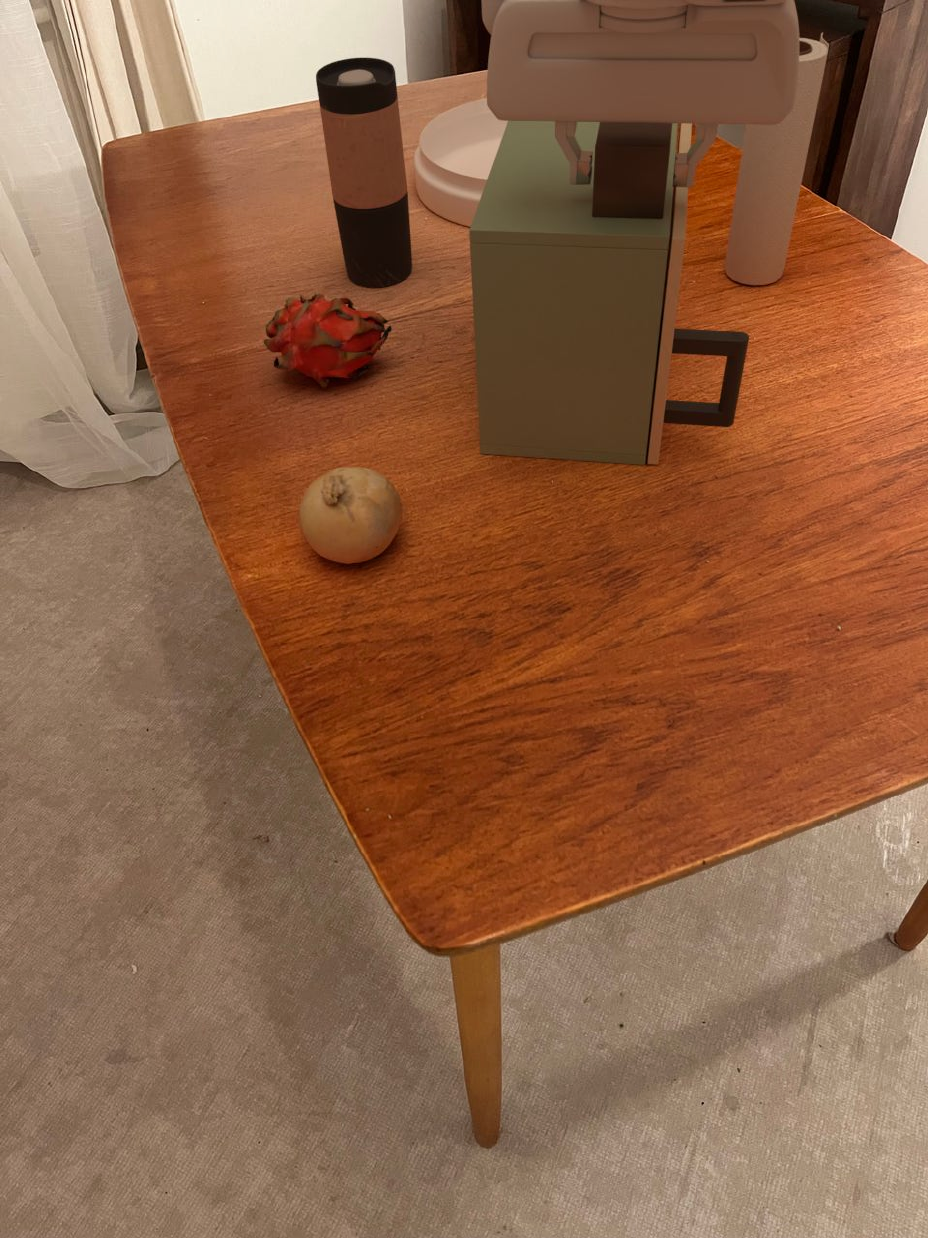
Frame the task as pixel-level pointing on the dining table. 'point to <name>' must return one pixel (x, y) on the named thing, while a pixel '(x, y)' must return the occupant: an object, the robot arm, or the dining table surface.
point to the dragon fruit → (325, 337)
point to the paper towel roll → (773, 179)
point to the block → (631, 169)
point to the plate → (457, 159)
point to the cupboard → (563, 307)
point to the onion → (350, 514)
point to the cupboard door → (690, 340)
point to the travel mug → (367, 168)
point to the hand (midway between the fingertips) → (631, 182)
